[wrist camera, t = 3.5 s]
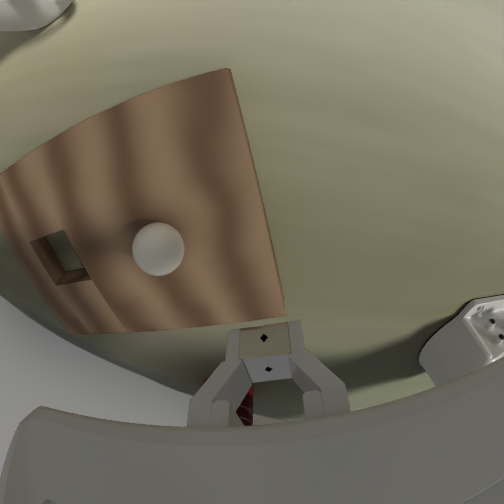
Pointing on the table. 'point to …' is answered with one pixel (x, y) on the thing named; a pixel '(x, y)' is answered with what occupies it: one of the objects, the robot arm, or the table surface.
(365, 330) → the table surface
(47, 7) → the mug
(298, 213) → the table surface
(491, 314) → the robot arm
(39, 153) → the board
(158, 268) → the ball
